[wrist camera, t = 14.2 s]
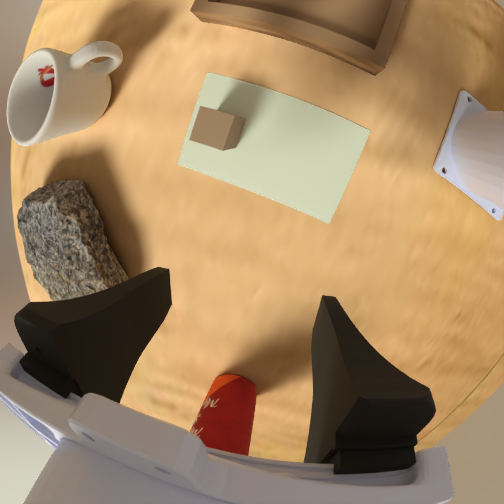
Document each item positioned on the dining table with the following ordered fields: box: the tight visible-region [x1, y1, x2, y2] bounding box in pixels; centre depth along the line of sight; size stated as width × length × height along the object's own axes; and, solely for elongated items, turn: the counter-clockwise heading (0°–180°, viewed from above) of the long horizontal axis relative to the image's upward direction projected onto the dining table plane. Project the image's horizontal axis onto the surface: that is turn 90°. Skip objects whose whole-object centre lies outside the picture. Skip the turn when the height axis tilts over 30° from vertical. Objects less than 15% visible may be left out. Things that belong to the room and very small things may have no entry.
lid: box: [177, 72, 370, 224], centre depth 18 cm, size 13×8×4 cm, turn 70°
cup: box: [7, 41, 123, 146], centre depth 15 cm, size 11×8×8 cm
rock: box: [17, 179, 129, 301], centre depth 23 cm, size 13×6×15 cm
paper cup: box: [190, 374, 257, 456], centre depth 25 cm, size 8×8×14 cm
